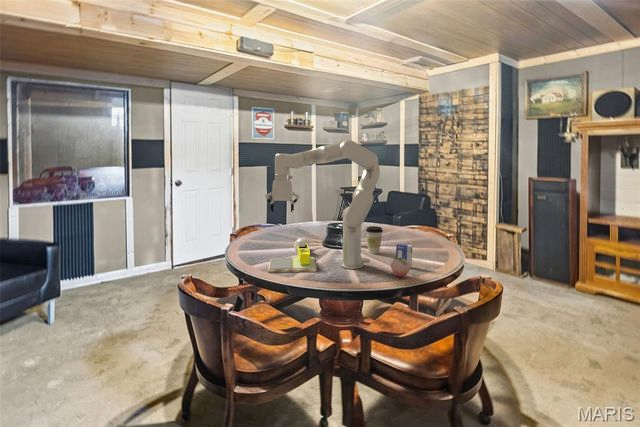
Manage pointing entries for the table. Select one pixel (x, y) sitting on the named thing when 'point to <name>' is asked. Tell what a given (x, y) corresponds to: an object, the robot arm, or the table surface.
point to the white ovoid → (301, 243)
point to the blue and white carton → (404, 252)
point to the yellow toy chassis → (303, 254)
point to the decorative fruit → (400, 267)
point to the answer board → (290, 265)
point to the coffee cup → (374, 239)
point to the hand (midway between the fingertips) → (282, 211)
